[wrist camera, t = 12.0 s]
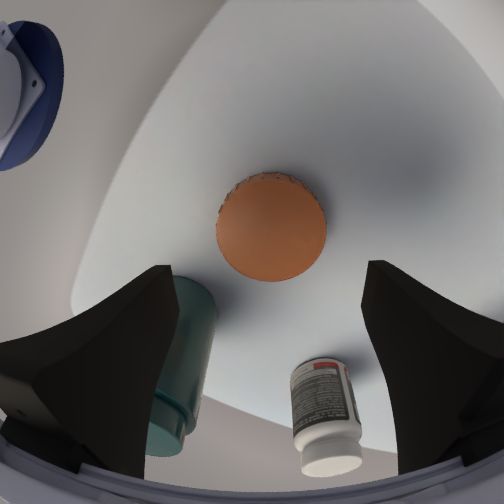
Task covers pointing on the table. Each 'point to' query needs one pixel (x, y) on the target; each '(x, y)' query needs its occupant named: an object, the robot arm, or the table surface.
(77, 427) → the robot arm
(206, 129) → the table surface
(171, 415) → the jar
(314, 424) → the pill bottle
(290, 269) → the lid
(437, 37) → the table surface
